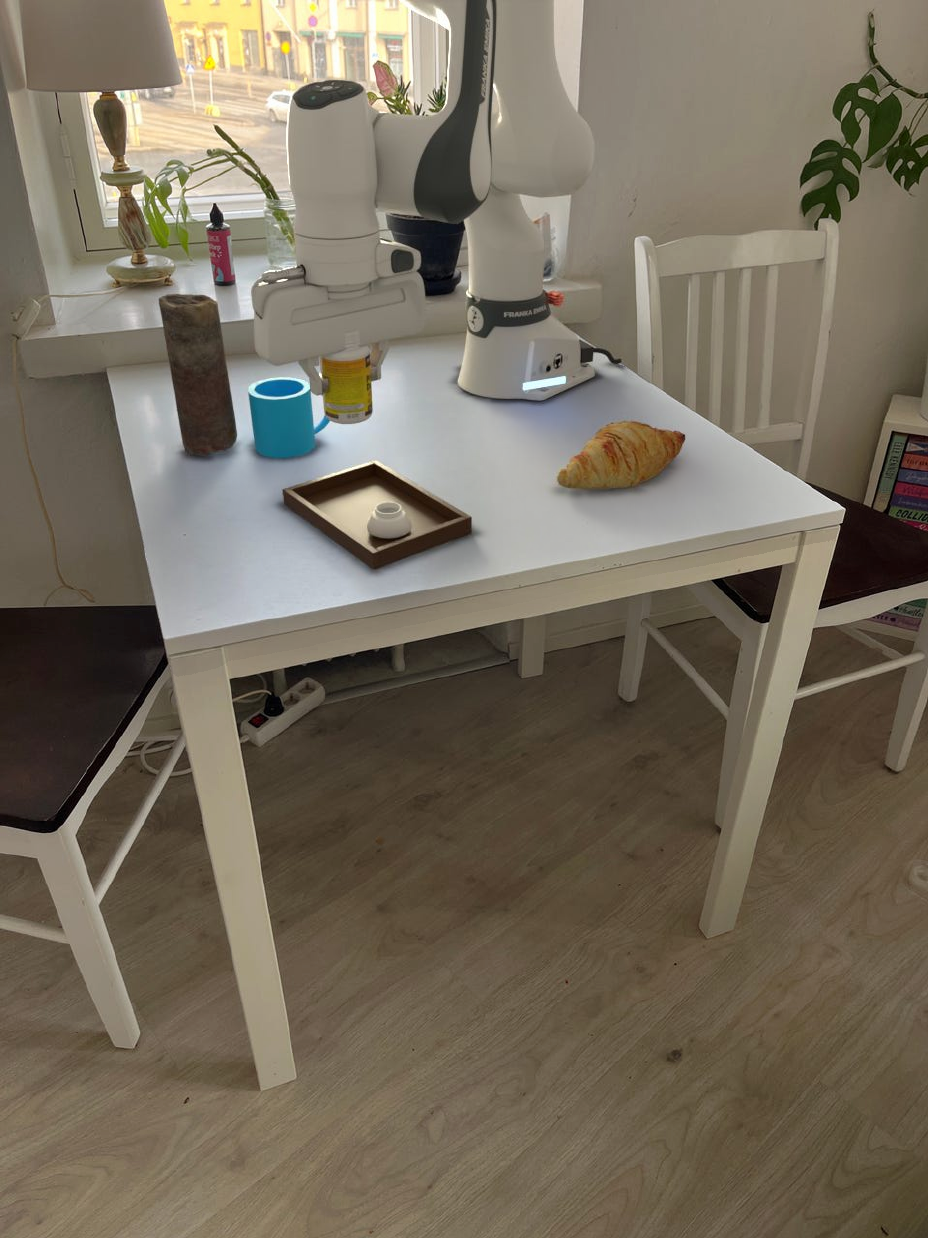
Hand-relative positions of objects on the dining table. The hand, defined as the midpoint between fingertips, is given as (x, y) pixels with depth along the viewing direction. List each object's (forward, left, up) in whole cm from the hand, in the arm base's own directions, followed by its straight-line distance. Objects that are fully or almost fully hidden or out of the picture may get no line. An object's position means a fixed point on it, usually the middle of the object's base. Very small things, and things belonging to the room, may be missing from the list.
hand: (346, 386), depth 109 cm
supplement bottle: (0, 0, -4) cm, 4 cm away
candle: (+6, -26, -15) cm, 31 cm away
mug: (-4, -20, -15) cm, 26 cm away
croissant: (-32, +14, -15) cm, 38 cm away
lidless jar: (+1, +9, -14) cm, 17 cm away
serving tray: (0, +5, -15) cm, 16 cm away
